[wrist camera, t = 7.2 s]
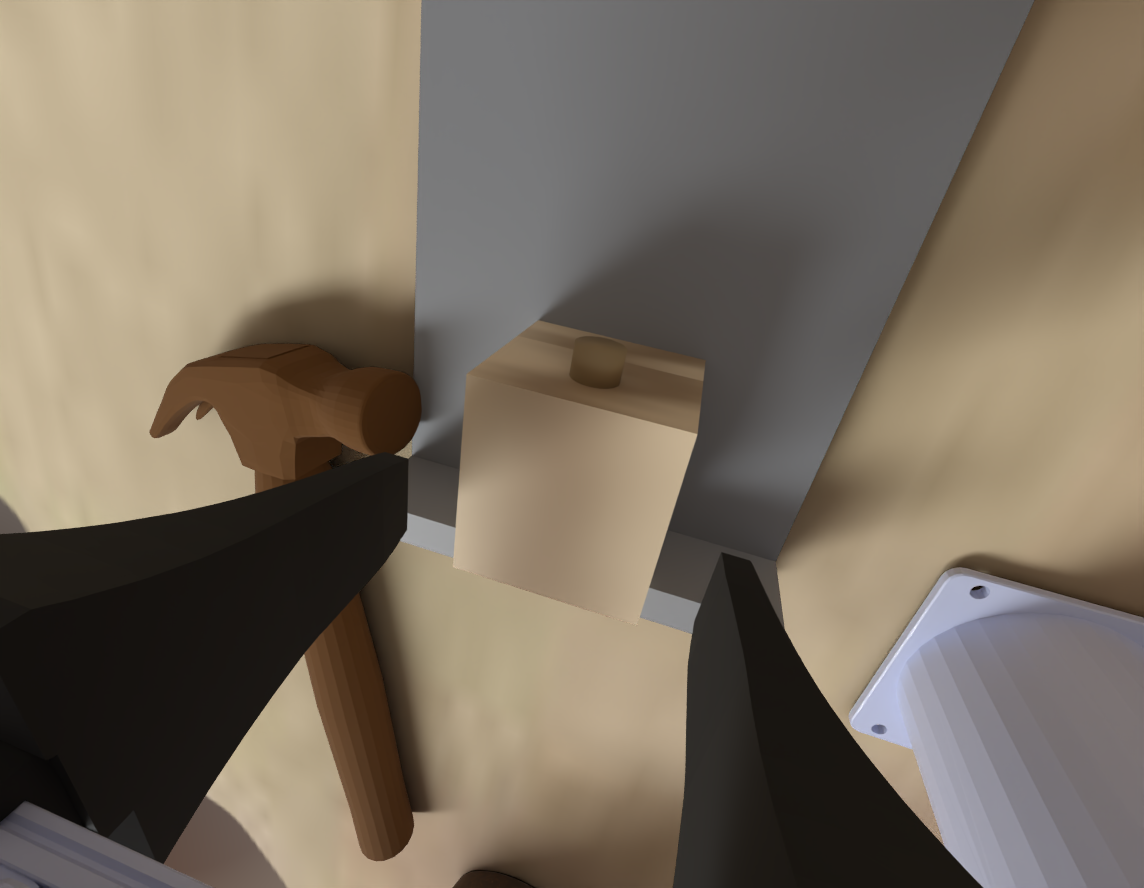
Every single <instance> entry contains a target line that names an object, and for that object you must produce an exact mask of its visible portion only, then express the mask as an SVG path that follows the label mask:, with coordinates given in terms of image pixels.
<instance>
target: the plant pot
mask: <svg viewBox="0 0 1144 888" xmlns="http://www.w3.org/2000/svg"><path fill="white" fill-rule="evenodd" d="M453 888H532V887H531V886H529V885H527V884H526V883H524V882H521V881H519V880H517V879H515V878H513V877H510V876H507V875H504V874H500V873H496V872H490V871H473V872H469V873H467V874H465V875H463V876H462V877H461V878H460V879H459V881H458V882H457V883H456V884H455V885H454V887H453Z"/></svg>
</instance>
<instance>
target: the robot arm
mask: <svg viewBox="0 0 1144 888" xmlns="http://www.w3.org/2000/svg"><path fill="white" fill-rule="evenodd" d="M408 466H409V459H407V458H404V457H400V456H397V455H393V454H390V453H387V452H383V453H379V454H375V455H372V456H369V457H365V458H362V459H359V460H356V461H353V462H350V463H348V464H345V465H342V466H339V467H336V468H333V469H330V470H327V471H324V472H321V473H318V474H315V475H313V476H310V477H307V478H304V479H301V480H298V481H295V482H292V483H288V484H285V485H282V486H278V487H275V488H272V489H268V490H265V491H262V492H259V493H255V494H252V495H249V496H245V497H241V498H238V499H234V500H230V501H226V502H222V503H218V504H214V505H209V506H205V507H201V508H196V509H192V510H187V511H182V512H177V513H172V514H166V515H160V516H154V517H148V518H142V519H136V520H130V521H125V522H118V523H111V524H104V525H96V526H88V527H80V528H70V529H60V530H51V531H40V532H28V533H13V534H0V888H214V887H211V886H209V885H207V884H205V883H203V882H201V881H198V880H196V879H194V878H192V877H190V876H188V875H185V874H183V873H181V872H179V871H177V870H174V869H172V868H170V867H168V866H166V865H164V862H165V861H166V859H167V857H168V855H169V854H170V852H171V850H172V849H173V847H174V845H175V844H176V842H177V841H178V839H179V837H180V836H181V834H182V832H183V831H184V829H185V828H186V826H187V824H188V823H189V821H190V819H191V818H192V816H193V815H194V813H195V811H196V810H197V808H198V807H199V805H200V803H201V802H202V800H203V799H204V797H205V795H206V794H207V792H208V790H209V789H210V787H211V786H212V784H213V783H214V781H215V780H216V778H217V777H218V775H219V774H220V772H221V771H222V769H223V768H224V766H225V765H226V763H227V762H228V760H229V759H230V757H231V756H232V754H233V753H234V751H235V750H236V748H237V747H238V745H239V744H240V742H241V740H242V739H243V737H244V736H245V735H246V733H247V732H248V730H249V729H250V727H251V726H252V725H253V723H254V722H255V720H256V719H257V718H258V716H259V715H260V713H261V712H262V710H263V709H264V708H265V706H266V705H267V703H268V702H269V700H270V699H271V698H272V696H273V695H274V693H275V692H276V691H277V689H278V688H279V687H280V685H281V684H282V683H283V681H284V680H285V679H286V677H287V676H288V675H289V673H290V672H291V670H292V669H293V668H294V666H295V665H296V664H297V662H298V661H299V660H300V658H301V657H302V656H303V654H304V653H305V652H306V651H307V650H308V649H309V647H310V646H311V645H312V644H313V643H314V641H315V640H316V639H317V638H318V637H319V636H320V634H321V633H322V632H323V631H324V630H325V629H326V628H327V627H328V626H329V625H330V623H331V622H332V621H333V620H334V619H335V618H336V617H337V616H338V615H339V614H340V612H341V611H342V610H343V609H344V608H345V607H346V606H347V605H348V604H349V603H350V601H351V600H352V599H353V598H354V597H355V596H356V595H357V594H358V593H359V592H360V590H361V589H362V588H363V587H364V586H365V585H366V584H367V583H368V582H369V580H370V579H371V578H372V577H373V576H374V575H375V574H376V573H377V571H378V570H379V569H380V568H381V567H382V566H383V564H384V563H385V562H386V560H387V559H388V557H389V556H390V555H391V553H392V552H393V550H394V549H395V548H396V546H397V544H398V543H399V541H400V540H401V538H402V537H403V535H404V534H405V532H406V531H407V518H408ZM976 586H983V587H982V588H981V589H979V590H971V589H972V588H973V587H976ZM849 720H850V724H851V726H852V727H853V728H854V729H855V730H857V731H859V732H862V733H865V734H868V735H871V736H874V737H877V738H880V739H883V740H886V741H889V742H892V743H895V744H898V745H901V746H904V747H907V748H910V749H913V751H914V754H915V757H916V760H917V763H918V766H919V769H920V773H921V776H922V779H923V782H924V785H925V788H926V791H927V794H928V797H929V800H930V803H931V806H932V809H933V812H934V815H935V818H936V821H937V824H938V827H939V830H940V833H941V836H942V839H943V842H944V845H945V847H944V846H943V844H942V843H941V842H940V841H939V840H938V839H937V838H936V837H935V836H934V835H933V834H932V833H931V831H930V830H929V829H928V828H927V827H926V826H925V825H924V824H923V823H922V821H921V820H920V819H919V818H918V817H917V816H916V815H915V813H914V812H913V811H912V810H911V809H910V808H909V807H908V805H907V804H906V803H905V802H904V801H903V800H902V798H901V797H900V796H899V795H898V794H897V792H896V791H895V790H894V789H893V788H892V786H891V785H890V784H889V783H888V781H887V780H886V779H885V778H884V777H883V775H882V774H881V773H880V772H879V770H878V769H877V768H876V767H875V766H874V764H873V763H872V762H871V761H870V759H869V758H868V757H867V755H866V754H865V753H864V752H863V750H862V749H861V748H860V746H859V745H858V744H857V743H856V741H855V740H854V738H853V737H852V736H851V734H850V733H849V732H848V730H847V729H846V727H845V726H844V725H843V723H842V722H841V720H840V719H839V718H838V716H837V715H836V713H835V712H834V711H833V709H832V708H831V706H830V705H829V703H828V702H827V700H826V699H825V697H824V696H823V694H822V693H821V691H820V690H819V688H818V687H817V685H816V683H815V682H814V680H813V679H812V677H811V675H810V674H809V672H808V670H807V669H806V667H805V665H804V664H803V662H802V660H801V658H800V657H799V655H798V653H797V651H796V650H795V648H794V646H793V644H792V642H791V640H790V639H789V637H788V635H787V633H786V631H785V629H784V627H783V626H782V624H781V622H780V620H779V618H778V616H777V614H776V612H775V610H774V608H773V606H772V604H771V602H770V600H769V598H768V595H767V593H766V591H765V589H764V587H763V585H762V583H761V581H760V578H759V576H758V574H757V572H756V570H755V568H754V566H753V564H752V562H751V561H750V560H747V559H743V558H740V557H737V556H733V555H730V554H727V553H723V552H721V554H720V556H719V559H718V562H717V564H716V567H715V569H714V572H713V574H712V577H711V579H710V582H709V585H708V587H707V590H706V592H705V595H704V597H703V600H702V603H701V605H700V608H699V610H698V613H697V615H696V618H695V620H694V626H693V632H692V639H691V646H690V653H689V660H688V675H687V718H686V768H685V787H684V800H683V809H682V818H681V826H680V835H679V844H678V852H677V860H676V868H675V876H674V884H673V888H1144V618H1143V617H1140V616H1136V615H1132V614H1129V613H1125V612H1122V611H1118V610H1115V609H1111V608H1107V607H1104V606H1100V605H1097V604H1093V603H1089V602H1086V601H1082V600H1079V599H1075V598H1071V597H1068V596H1064V595H1061V594H1057V593H1054V592H1050V591H1046V590H1043V589H1039V588H1036V587H1032V586H1028V585H1025V584H1021V583H1018V582H1014V581H1011V580H1007V579H1003V578H1000V577H996V576H993V575H989V574H985V573H982V572H978V571H975V570H971V569H967V568H961V567H958V568H952V569H950V570H947V571H945V572H944V573H943V574H942V575H941V577H940V578H939V580H938V581H937V583H936V584H935V586H934V587H933V589H932V590H931V592H930V593H929V595H928V596H927V598H926V599H925V601H924V602H923V604H922V605H921V607H920V608H919V610H918V611H917V613H916V614H915V615H914V617H913V618H912V620H911V621H910V623H909V624H908V626H907V627H906V629H905V630H904V632H903V633H902V635H901V636H900V638H899V639H898V641H897V642H896V644H895V645H894V647H893V648H892V650H891V651H890V653H889V654H888V656H887V657H886V659H885V660H884V662H883V663H882V665H881V666H880V668H879V669H878V671H877V672H876V674H875V675H874V677H873V678H872V680H871V681H870V682H869V684H868V685H867V687H866V688H865V690H864V691H863V693H862V694H861V696H860V697H859V699H858V700H857V702H856V703H855V705H854V706H853V708H852V709H851V711H850V712H849ZM877 724H879V725H877Z"/></svg>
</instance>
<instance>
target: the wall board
mask: <svg viewBox="0 0 1144 888" xmlns="http://www.w3.org/2000/svg"><path fill="white" fill-rule="evenodd" d="M1033 3H1034V0H422V7H421V54H420V101H419V148H418V195H417V242H416V289H415V336H414V381H415V382H416V384H417V385H418V387H419V390H420V395H421V406H422V413H421V419H420V423H419V426H418V428H417V431H416V433H415V435H414V436H413V438H412V456H411V457H410V458H409V466H408V518H407V531H406V532H405V534H404V535H403V537H402V538H401V540H400V541H402V542H405V543H408V544H411V545H415V546H418V547H421V548H424V549H427V550H430V551H433V552H437V553H440V554H443V555H446V556H449V557H452V558H454V543H455V529H456V515H457V501H458V487H459V473H460V459H461V445H462V430H463V416H464V402H465V388H466V374H467V373H469V372H470V371H471V370H473V369H474V368H475V367H477V366H478V365H479V364H481V363H482V362H483V361H485V360H486V359H487V358H489V357H490V356H491V355H493V354H494V353H495V352H497V351H498V350H499V349H501V348H502V347H503V346H505V345H506V344H507V343H509V342H510V341H511V340H513V339H514V338H515V337H516V336H518V335H519V334H520V333H522V332H523V331H524V330H526V329H527V328H528V327H530V326H531V325H532V324H534V323H535V322H536V321H538V320H539V321H544V322H548V323H552V324H556V325H560V326H564V327H569V328H573V329H577V330H581V331H585V332H590V333H594V334H598V335H602V336H606V337H611V338H615V339H619V340H623V341H627V342H632V343H636V344H640V345H644V346H648V347H652V348H657V349H661V350H665V351H669V352H673V353H678V354H682V355H686V356H690V357H694V358H699V359H703V360H706V362H705V371H704V380H703V389H702V398H701V407H700V416H699V425H698V434H697V437H696V441H695V444H694V447H693V450H692V453H691V456H690V460H689V463H688V466H687V469H686V472H685V475H684V479H683V482H682V485H681V488H680V491H679V494H678V498H677V501H676V504H675V507H674V510H673V513H672V517H671V520H670V523H669V526H668V529H667V532H666V536H665V539H664V542H663V545H662V548H661V551H660V555H659V558H658V561H657V564H656V567H655V570H654V574H653V577H652V580H651V583H650V586H649V589H648V593H647V596H646V599H645V602H644V605H643V608H642V612H641V615H640V618H644V619H647V620H650V621H653V622H656V623H659V624H662V625H666V626H669V627H672V628H675V629H678V630H681V631H684V632H688V633H691V634H692V632H693V626H694V620H695V618H696V615H697V613H698V610H699V608H700V605H701V603H702V600H703V597H704V595H705V592H706V590H707V587H708V585H709V582H710V579H711V577H712V574H713V572H714V569H715V567H716V564H717V562H718V559H719V556H720V554H721V552H723V553H727V554H730V555H733V556H737V557H740V558H743V559H747V560H750V561H751V562H752V564H753V566H754V568H755V570H756V572H757V574H758V576H759V578H760V581H761V583H762V585H763V587H764V589H765V591H766V593H767V595H768V598H769V600H770V602H771V604H772V606H773V608H774V610H775V612H776V614H777V616H778V618H779V620H780V622H781V624H782V626H783V627H784V621H783V613H782V606H781V598H780V591H779V583H778V575H777V568H776V560H777V558H778V555H779V553H780V551H781V549H782V547H783V545H784V542H785V540H786V538H787V536H788V534H789V532H790V529H791V527H792V525H793V523H794V521H795V519H796V516H797V514H798V512H799V510H800V508H801V506H802V503H803V501H804V499H805V497H806V495H807V493H808V490H809V488H810V486H811V484H812V482H813V480H814V477H815V475H816V473H817V471H818V469H819V467H820V464H821V462H822V460H823V458H824V456H825V454H826V451H827V449H828V447H829V445H830V443H831V441H832V438H833V436H834V434H835V432H836V430H837V428H838V425H839V423H840V421H841V419H842V417H843V415H844V412H845V410H846V408H847V406H848V404H849V402H850V399H851V397H852V395H853V393H854V391H855V389H856V386H857V384H858V382H859V380H860V378H861V376H862V373H863V371H864V369H865V367H866V365H867V363H868V360H869V358H870V356H871V354H872V352H873V349H874V347H875V345H876V343H877V341H878V339H879V336H880V334H881V332H882V330H883V328H884V326H885V323H886V321H887V319H888V317H889V315H890V313H891V310H892V308H893V306H894V304H895V302H896V300H897V297H898V295H899V293H900V291H901V289H902V287H903V284H904V282H905V280H906V278H907V276H908V274H909V271H910V269H911V267H912V265H913V263H914V261H915V258H916V256H917V254H918V252H919V250H920V248H921V245H922V243H923V241H924V239H925V237H926V235H927V232H928V230H929V228H930V226H931V224H932V222H933V219H934V217H935V215H936V213H937V211H938V209H939V206H940V204H941V202H942V200H943V198H944V196H945V193H946V191H947V189H948V187H949V185H950V183H951V180H952V178H953V176H954V174H955V172H956V170H957V167H958V165H959V163H960V161H961V159H962V157H963V154H964V152H965V150H966V148H967V146H968V144H969V141H970V139H971V137H972V135H973V133H974V131H975V128H976V126H977V124H978V122H979V120H980V117H981V115H982V113H983V111H984V109H985V107H986V104H987V102H988V100H989V98H990V96H991V94H992V91H993V89H994V87H995V85H996V83H997V81H998V78H999V76H1000V74H1001V72H1002V70H1003V68H1004V65H1005V63H1006V61H1007V59H1008V57H1009V55H1010V52H1011V50H1012V48H1013V46H1014V44H1015V42H1016V39H1017V37H1018V35H1019V33H1020V31H1021V29H1022V26H1023V24H1024V22H1025V20H1026V18H1027V16H1028V13H1029V11H1030V9H1031V7H1032V5H1033Z"/></svg>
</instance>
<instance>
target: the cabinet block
mask: <svg viewBox="0 0 1144 888" xmlns="http://www.w3.org/2000/svg"><path fill="white" fill-rule="evenodd" d="M705 362H706V360H703V359H699V358H694V357H690V356H686V355H682V354H678V353H673V352H669V351H665V350H661V349H657V348H652V347H648V346H644V345H640V344H636V343H632V342H627V341H623V340H619V339H615V338H611V337H606V336H602V335H598V334H594V333H590V332H585V331H581V330H577V329H573V328H569V327H564V326H560V325H556V324H552V323H548V322H544V321H539V320H538V321H536V322H535V323H534V324H532V325H531V326H530V327H528V328H527V329H526V330H524V331H523V332H522V333H520V334H519V335H518V336H516V337H515V338H514V339H513V340H511V341H510V342H509V343H507V344H506V345H505V346H503V347H502V348H501V349H499V350H498V351H497V352H495V353H494V354H493V355H491V356H490V357H489V358H487V359H486V360H485V361H483V362H482V363H481V364H479V365H478V366H477V367H475V368H474V369H473V370H471V371H470V372H469V373H467V374H466V388H465V402H464V416H463V430H462V445H461V459H460V473H459V487H458V501H457V515H456V529H455V543H454V558H453V567H454V568H457V569H461V570H464V571H467V572H470V573H473V574H476V575H479V576H482V577H486V578H489V579H492V580H495V581H498V582H501V583H504V584H508V585H511V586H514V587H517V588H520V589H523V590H526V591H529V592H533V593H536V594H539V595H542V596H545V597H548V598H551V599H554V600H558V601H561V602H564V603H567V604H570V605H573V606H576V607H579V608H583V609H586V610H589V611H592V612H595V613H598V614H601V615H605V616H608V617H611V618H614V619H617V620H620V621H623V622H626V623H630V624H633V625H636V626H637V624H638V621H639V618H640V615H641V612H642V608H643V605H644V602H645V599H646V596H647V593H648V589H649V586H650V583H651V580H652V577H653V574H654V570H655V567H656V564H657V561H658V558H659V555H660V551H661V548H662V545H663V542H664V539H665V536H666V532H667V529H668V526H669V523H670V520H671V517H672V513H673V510H674V507H675V504H676V501H677V498H678V494H679V491H680V488H681V485H682V482H683V479H684V475H685V472H686V469H687V466H688V463H689V460H690V456H691V453H692V450H693V447H694V444H695V441H696V437H697V434H698V425H699V416H700V407H701V398H702V389H703V380H704V371H705Z"/></svg>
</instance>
